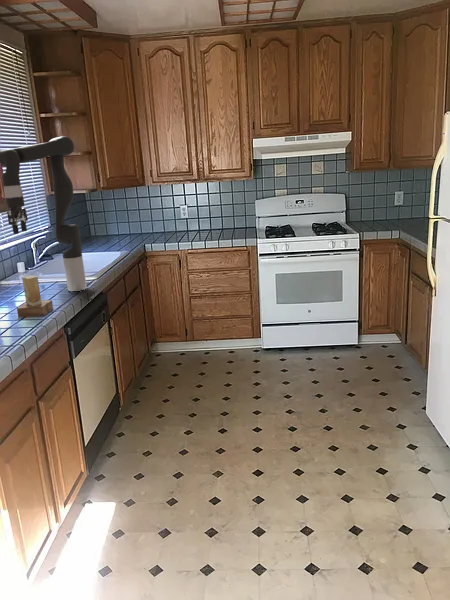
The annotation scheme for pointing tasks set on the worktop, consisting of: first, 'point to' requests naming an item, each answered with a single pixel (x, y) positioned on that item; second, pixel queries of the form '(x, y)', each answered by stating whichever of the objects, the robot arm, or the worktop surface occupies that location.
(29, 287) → the skincare box
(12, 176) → the robot arm
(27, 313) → the block
